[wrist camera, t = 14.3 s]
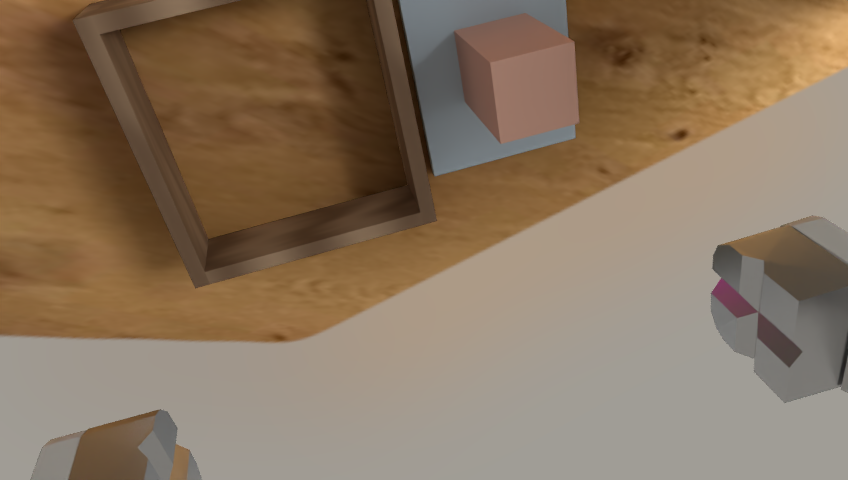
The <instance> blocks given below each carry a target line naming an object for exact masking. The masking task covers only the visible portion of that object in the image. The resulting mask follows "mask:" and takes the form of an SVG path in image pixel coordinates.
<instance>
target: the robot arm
mask: <svg viewBox="0 0 848 480" xmlns="http://www.w3.org/2000/svg"><path fill="white" fill-rule="evenodd" d="M713 270H714V271H715V272H716V273H717V274H718V275H719V276H720V277H721V280H720V281H719V282H718V284H717V285H716V287H715V288H714V290H713V291H712V293H711V312H712V315H713V319H714V322H715V325H716V328H717V330H718V331H719V333H720V335H721V336H722V338H723V340H724V341H725V342H726V343H727V344H728V345H729V346H730V347H731V348H732V349H733V351H734V352H737V353H740V354H743V355H745V356H749V357H751V358H754V372H755V373H756V374H757V375H758V376H759V377H760V378H761V379H762V380H763V381H764V382H765V383H766V384H767V385H768V386H769V387H770V389H771V390H773V392H774V393H776V394H777V396H778V397H779V398H780V399H781V400H782V401H783V402H784V403H786V402H790V401H793V400H796V399H800V398H803V397H807V396H810V395H814V394H817V393H821V392H824V391H827V390H831V389H834V388H838V387H841V386H842V387H841V390H843V391H845V392H847V393H848V232H846V231H845V230H843V229H841V228H840V227H838V226H837V225H835V224H834V223H832V222H830V221H829V220H827V219H825V218H823V217H819V216H809V217H806V218H803V219H800V220H797V221H794V222H791V223H788V224H785V225H782V226H780V227H778V228H774V229H771V230H768V231H764V232H761V233H758V234H755V235H751V236H748V237H744V238H741V239H738V240H734V241H731V242H728V243H725V244H721V245H718V246H717V248H716V251H715V253H714V255H713ZM176 436H177V427H176V425H175V423H174V422H173V420H172V418H171V417H170V415H169V413H168V412H167V411H164V410H156V411H152V412H149V413H145V414H141V415H138V416H134V417H130V418H127V419H123V420H120V421H115V422H112V423H108V424H104V425H101V426H97V427H94V428H90V429H88V430H86V431H81V432H77V433H73V434H70V435H66V436H63V437H59V438H55V439H52V440H50V441H49V442H48V443H47V444H46V445H44V446H43V447H42V449H41V452H40V455H39V458H38V460H37V463H36V466H35V469H34V471H33V474H32V477H31V480H202V479H201V475H200V472H199V469H198V467H197V463H196V461H195V460H194V457H193V456H192V454H191V452H190V450H188V449H186V448H184V447H181V446H179V445H177V444H176Z"/></svg>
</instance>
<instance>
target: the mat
mask: <svg viewBox="0 0 848 480" xmlns="http://www.w3.org/2000/svg"><path fill="white" fill-rule="evenodd" d="M398 4H399V9H400V14H401V19H402V24H403V29H404V34H405V39H406V44H407V49H408V54H409V59H410V64H411V69H412V74H413V79H414V84H415V89H416V94H417V99H418V104H419V109H420V114H421V119H422V124H423V129H424V134H425V139H426V143H427V148H428V153H429V158H430V163H431V168H432V173H433V174H434V176H438V175H442V174H446V173H449V172H453V171H457V170H460V169H464V168H468V167H471V166H475V165H479V164H482V163H486V162H490V161H493V160H497V159H501V158H504V157H508V156H512V155H515V154H519V153H523V152H526V151H530V150H534V149H537V148H541V147H545V146H548V145H552V144H556V143H560V142H563V141H567V140H571V139H574V138H576V136H575V125H571V126H567V127H563V128H559V129H556V130H552V131H548V132H544V133H541V134H537V135H533V136H529V137H526V138H522V139H518V140H514V141H511V142H507V143H503V144H500V143H499V141H498V140H497V139H496V138H495V137H494V136H493V134H492V133H491V132H490V131H489V130H488V128H487V127H486V126H485V125H484V124H483V123H482V121H481V120H480V119H479V118H478V117H477V116H476V114H475V113H474V112H473V111H472V110H471V109H470V107H469V106H468V105H467V104H466V103H465V99H464V93H463V87H462V80H461V74H460V67H459V61H458V55H457V48H456V42H455V36H454V30H458V29H462V28H466V27H470V26H475V25H479V24H483V23H487V22H491V21H495V20H499V19H503V18H507V17H511V16H515V15H519V14H523V13H527V14H528V15H530V16H532V17H533V18H535V19H537V20H539V21H540V22H542V23H544V24H545V25H547V26H549V27H551V28H552V29H554V30H556V31H557V32H559V33H561V34H563V35H564V36H566V37H568V24H567V10H566V0H398Z"/></svg>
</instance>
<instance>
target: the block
mask: <svg viewBox="0 0 848 480" xmlns="http://www.w3.org/2000/svg"><path fill="white" fill-rule="evenodd" d="M454 36H455V42H456V48H457V55H458V61H459V67H460V74H461V80H462V87H463V93H464V99H465V103H466V104H467V105H468V106H469V107H470V109H471V110H472V111H473V112H474V113H475V114H476V116H477V117H478V118H479V119H480V120H481V121H482V123H483V124H484V125H485V126H486V127H487V128H488V130H489V131H490V132H491V133H492V134H493V136H494V137H495V138H496V139H497V140H498V141H499V143H500V144H503V143H507V142H511V141H514V140H518V139H522V138H526V137H529V136H533V135H537V134H541V133H544V132H548V131H552V130H556V129H559V128H563V127H567V126H571V125H575V124H578V123H579V108H578V92H577V76H576V60H575V44H574V41H573V40H571V39H569V38H568V37H566V36H564V35H563V34H561V33H559V32H557V31H556V30H554V29H552V28H551V27H549V26H547V25H545V24H544V23H542V22H540V21H539V20H537V19H535V18H533V17H532V16H530V15H528V14H527V13H523V14H519V15H515V16H511V17H507V18H503V19H499V20H495V21H491V22H487V23H483V24H479V25H475V26H470V27H466V28H462V29H458V30H454Z"/></svg>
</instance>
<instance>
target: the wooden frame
mask: <svg viewBox="0 0 848 480" xmlns="http://www.w3.org/2000/svg"><path fill="white" fill-rule="evenodd" d="M235 1H240V0H105V1H101V2H97V3H93V4H89V5H88V6H87V7H86V8H85V9H84V10H83V11H82V12H81V13H80V14H79V15H78V16H76V17H75V18H74V19H73V23H74V25H75V27H76V29H77V31H78V34H79V36H80V38H81V40H82V42H83V44H84V47H85V49H86V51H87V53H88V55H89V57H90V60H91V62H92V64H93V66H94V68H95V71H96V73H97V75H98V77H99V79H100V81H101V84H102V86H103V88H104V90H105V92H106V95H107V97H108V99H109V101H110V103H111V105H112V108H113V110H114V112H115V114H116V116H117V118H118V121H119V123H120V125H121V127H122V129H123V132H124V134H125V136H126V138H127V140H128V142H129V145H130V147H131V149H132V151H133V153H134V156H135V158H136V160H137V162H138V164H139V166H140V169H141V171H142V173H143V175H144V177H145V179H146V182H147V184H148V186H149V188H150V190H151V193H152V195H153V197H154V199H155V201H156V203H157V206H158V208H159V210H160V212H161V214H162V217H163V219H164V221H165V223H166V225H167V227H168V230H169V232H170V234H171V236H172V238H173V241H174V243H175V245H176V247H177V249H178V251H179V254H180V256H181V258H182V260H183V262H184V264H185V267H186V269H187V271H188V273H189V275H190V278H191V280H192V282H193V284H194V286H195V288H198V287H202V286H205V285H209V284H212V283H216V282H219V281H223V280H227V279H230V278H234V277H237V276H241V275H245V274H248V273H252V272H255V271H259V270H263V269H266V268H270V267H273V266H277V265H280V264H284V263H288V262H291V261H295V260H298V259H302V258H306V257H309V256H313V255H316V254H320V253H323V252H327V251H331V250H334V249H338V248H341V247H345V246H349V245H352V244H356V243H359V242H363V241H367V240H370V239H374V238H377V237H381V236H384V235H388V234H392V233H395V232H399V231H402V230H406V229H410V228H413V227H417V226H420V225H424V224H428V223H431V222H435V221H437V219H436V214H435V209H434V204H433V199H432V194H431V190H430V185H429V180H428V175H427V170H426V165H425V160H424V156H423V151H422V146H421V141H420V136H419V131H418V126H417V122H416V117H415V112H414V107H413V102H412V97H411V92H410V88H409V83H408V78H407V73H406V68H405V63H404V58H403V54H402V49H401V44H400V39H399V34H398V29H397V24H396V20H395V15H394V10H393V5H392V0H366V2H367V7H368V11H369V16H370V20H371V25H372V29H373V33H374V38H375V42H376V47H377V51H378V56H379V60H380V64H381V69H382V73H383V78H384V82H385V87H386V91H387V95H388V100H389V104H390V109H391V113H392V118H393V122H394V127H395V131H396V135H397V140H398V144H399V149H400V153H401V158H402V162H403V166H404V171H405V175H406V180H407V184H408V185H406V186H402V187H399V188H395V189H391V190H388V191H384V192H380V193H377V194H373V195H369V196H366V197H362V198H358V199H355V200H351V201H347V202H344V203H340V204H336V205H333V206H329V207H325V208H322V209H318V210H314V211H311V212H307V213H303V214H300V215H296V216H292V217H289V218H285V219H281V220H278V221H274V222H270V223H267V224H263V225H259V226H256V227H252V228H248V229H245V230H241V231H237V232H234V233H230V234H226V235H223V236H219V237H215V238H212V239H208V237H207V235H206V232H205V230H204V227H203V225H202V223H201V220H200V218H199V216H198V213H197V211H196V209H195V206H194V204H193V202H192V199H191V197H190V195H189V192H188V190H187V187H186V185H185V183H184V180H183V178H182V176H181V173H180V171H179V169H178V166H177V164H176V162H175V159H174V157H173V155H172V152H171V150H170V148H169V145H168V143H167V140H166V138H165V136H164V133H163V131H162V129H161V126H160V124H159V122H158V119H157V117H156V115H155V112H154V110H153V108H152V105H151V103H150V100H149V98H148V96H147V93H146V91H145V89H144V86H143V84H142V82H141V79H140V77H139V75H138V72H137V70H136V68H135V65H134V63H133V61H132V58H131V56H130V53H129V51H128V49H127V46H126V44H125V42H124V39H123V37H122V35H121V32H120V30H119V29H124V28H128V27H132V26H136V25H140V24H144V23H148V22H153V21H157V20H161V19H165V18H169V17H173V16H177V15H182V14H186V13H190V12H194V11H198V10H202V9H206V8H211V7H215V6H219V5H223V4H227V3H231V2H235Z"/></svg>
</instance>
